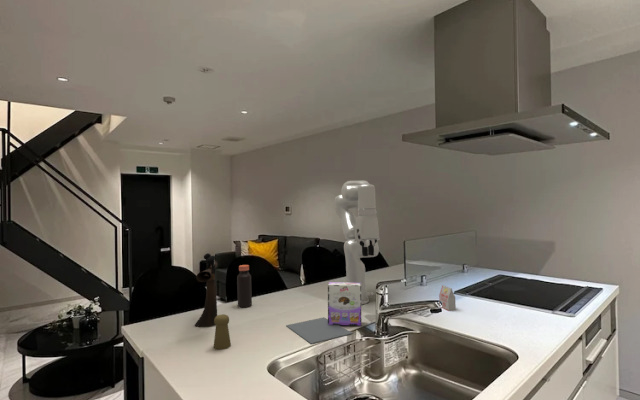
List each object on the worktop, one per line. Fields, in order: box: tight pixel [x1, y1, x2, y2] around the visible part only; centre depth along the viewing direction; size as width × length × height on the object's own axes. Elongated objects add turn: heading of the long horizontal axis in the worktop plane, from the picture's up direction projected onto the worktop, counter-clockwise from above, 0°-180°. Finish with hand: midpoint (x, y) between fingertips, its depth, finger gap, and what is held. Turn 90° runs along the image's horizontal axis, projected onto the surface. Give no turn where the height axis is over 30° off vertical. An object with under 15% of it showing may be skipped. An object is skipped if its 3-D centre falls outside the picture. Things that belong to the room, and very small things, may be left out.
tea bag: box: [438, 285, 457, 312], centre depth 163 cm, size 4×7×10 cm, turn 16°
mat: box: [285, 317, 354, 345], centre depth 139 cm, size 18×22×1 cm
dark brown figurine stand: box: [194, 252, 218, 328], centre depth 149 cm, size 31×10×30 cm, turn 11°
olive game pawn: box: [213, 314, 232, 351], centre depth 126 cm, size 6×6×11 cm
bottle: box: [236, 264, 253, 309], centre depth 175 cm, size 7×7×20 cm
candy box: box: [327, 281, 362, 326], centre depth 146 cm, size 14×6×16 cm, turn 84°
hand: (368, 255), depth 152 cm, fingers open, 2 cm apart
